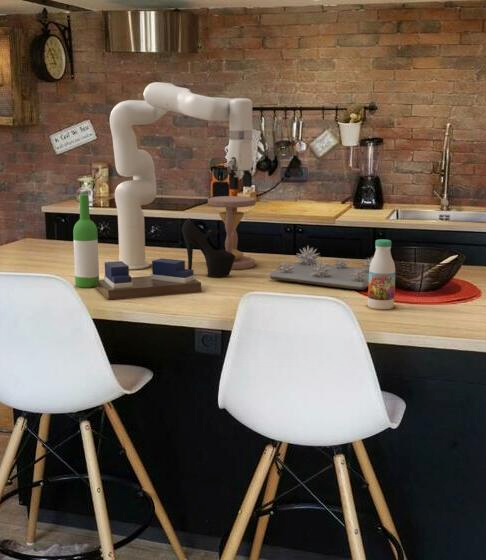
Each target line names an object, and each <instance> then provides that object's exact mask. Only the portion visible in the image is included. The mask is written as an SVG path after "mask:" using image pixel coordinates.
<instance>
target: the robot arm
mask: <svg viewBox="0 0 486 560" xmlns="http://www.w3.org/2000/svg"><path fill="white" fill-rule="evenodd" d="M168 112H174V113H178V114H182V115H185V116H188V117H192V118H196V119H200V120H204V121H210V122H214V121H215V122H219V121H220V122H221V121H223V122H226V121H229V127H228V128H229V138H228V139H229V141H228V147H227V158H226V169H227V174H228V175H227V176H228V190H234V191H235V190H236V191H237V190H239V173H240V172H243V175H242V187H243V188H252V187H253V186H252V185H253V170H254V164H255V161H254V160H253V147H252V146H253V145H252V142H253V101H252V100H251V98H245V97H242V98H241V97H236V98H235V97H233V98H229V97H216V96H215V97H214V96H213V97H212V96H206V95H201V94H197V93H193V92H192V91H191V90H190V89H189V88H187V87H182V86H176V85H175V84H173V83H171V82H159V81H158V82H157V81H155V82H150V83H149V84H148V85H146V86H145V88H144V91H143V100H139V99H138V100H137V99H129V100H124V101H120V102H119V103H117V104H115V106H114V107H113V108H112V110H111V112H110V115H109V128H110V132H111V138H112V147H113V156H114V165H115V166H114V167H115V170H116V172H117V174H118V175H119V176H121V177H125V178H130V177H132V179H131V180H125V181H122V182H121V183H119V184H118V185H117V186H116V188H115V189H114V201H115V206H116V211H117V228H118V229H117V230H118V233H117V234H118V261H122V262H123V263H125V264H126V265H128V266H129V270H143V269H147V268H149V267H150V265H151V264H150V262H149V261H146V233H145V231H146V229H145V228H146V227H145V226H146V225H145V215H144V211H143V209H142V206H145V205H146V206H147V205H149V204H151V203H153V202H154V200H156V197H157V180H156V169H155V163H154V160H153V157H152V155H151V154H150V153H149V152H148V151H147V150H144V149H142V148H141V149H139V147H138V140H137V135H136V132H135V130H134V128H133V126H134V125H135V126H137V125H139V126H140V125H144V126H145V125H150V124H154V123H155V122H157V121H158V120H159V119H161V118H162V117H163V116H164V115H166V114H167V113H168Z"/></svg>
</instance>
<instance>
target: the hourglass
mask: <svg viewBox="0 0 486 560" xmlns="http://www.w3.org/2000/svg"><path fill="white" fill-rule="evenodd" d="M207 205H208V206H210V207H216V208H225V211H219V212H218V214H219V218H220V219H221V220H222V222H223V223H224V228H225V232H226V237H225V241H224V247H225V249H224V250H226V251H228V252H230V253H232V254H234V256H235V259H234V263H233V265H232V268H231V271H236V270H246V269H247V270H248V269H251V268H254V267H255V266H256V260H255V258H253V257H250V256H245V255H244V252H242V251H240V250H238V241H239V236H238V232H237V227H238V226H239V224H240V222H241V220H242V219H243V218H244V215H245V212H244V211H238V208H248V207H253V206H254V207H255V205H256V199H255V197H251V196H239V195H224V196H223V195H222V196H221V195H220V196H211V197H208V198H207Z"/></svg>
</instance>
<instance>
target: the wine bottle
mask: <svg viewBox="0 0 486 560" xmlns="http://www.w3.org/2000/svg"><path fill="white" fill-rule="evenodd" d="M89 195H90V194H88V193H86V194H85V193H81V194H79V196H78V197H79V219H78V220H77V221H76V222H75V224H74V226H73V230H72V235H73V241H72V242H73V261H74V262H73V263H74V264H73V265H74V267H73V268H74V282H75V285H76V287H78V288H86V289H87V288H95V287H97V280H100V265H99V241H98V237H99V236H98V235H99V234H98V227H97V225H96V224H95V222H94V221H93V220H91V218H90V199H89V198H90V196H89Z"/></svg>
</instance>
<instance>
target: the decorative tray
mask: <svg viewBox="0 0 486 560" xmlns="http://www.w3.org/2000/svg"><path fill="white" fill-rule="evenodd" d="M317 250H318V248H315V249H314V247H310V245H309V244H308V245H307V246H306V248H305V247H302V249H301V248H299V251H300V253H298V252H297V255H296V256H295V258H298V259H297V260H295V262H294V263H289V262H286V261H284V262H281V263H278V265H279V266H277V269H275V270H274V271H273V270H272V271H271V272H270V273H268V276H269V277H270V279H271V280H275V281H285V282H293V283H301V284H309V285H311V284H312V285H319V286H324V287H325V286H327V287H332V288H333V287H334V288H341V289H342V288H343V289H350V290H358V291H364V290H366V289H368V283H369V268H370V264H371V261H372V259H373V257H370V258H369V257H367V258H365V259H364V261H365V262H362V264H361V266H362V267H355V266H348V264H349V261H347V259H343V257H340V258H338V259H335V260H336V261H335V263H334V264H329V262H327V263H326V262H324V261H323V262H322V260H321V259H317V258H320V257H321V255H320V254H321V253H320V252H318V253H316V251H317Z"/></svg>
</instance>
